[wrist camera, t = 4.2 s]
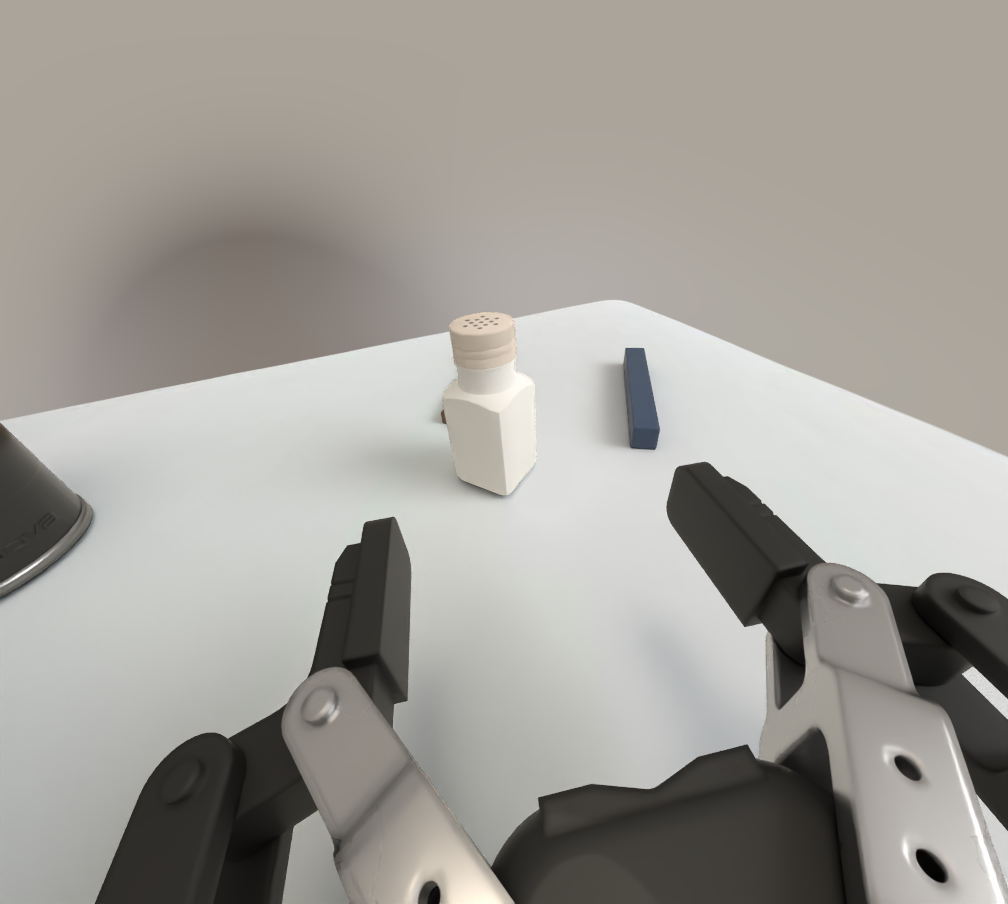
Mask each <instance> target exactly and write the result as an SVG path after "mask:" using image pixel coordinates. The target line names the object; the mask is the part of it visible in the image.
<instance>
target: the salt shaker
mask: <svg viewBox="0 0 1008 904" xmlns="http://www.w3.org/2000/svg"><path fill="white" fill-rule="evenodd" d="M449 331H450V337H451V341H452V342H451V343H452V348H453V355H454V364H455V365H456V367H457V371H458V377H459V378H458V379H456V380H455V381H454V382H453V383H452V384H451V385H450V386H449V387H448V388H447V389H446V390H445V391H444V394H443V397H442V403H443V408H444V413H445V418H446V423H447V428H448V433H449V439H450V444H451V449H452V454H453V459H454V464H455V469H456V473H457V475H458V476H459V478H460V479H462V480H463V481H465V482H468V483H470V484H473V485H476V486H478V487H481V488H484V489H486V490H489V491H491V492H494V493H497V494H499V495H508V494H510V493H511V492H512V491H513V490H514V489H515V488H516V487H517V485H518V484H519V483H520V482H521V480H522V479H523V478H524V477H525V476H526V474H527V473H528V472H529V471H530V470H531V468H532V467H533V466H534V464H535V462H536V458H537V449H536V415H535V383H534V381H533V380H532V379H531V378H530V377H528V376H527V375H524V374H522V373H520V372H517V371H516V369H515V360H516V357H517V355H516V354H517V353H516V346H515V345H516V338H515V321H514V320H513V319H512V318H511V316H509V315H505V314H501V313H488V312H486V313H484V312H483V313H476V314H470V315H466V316H463V317H460V318H458V319H455V321H453V322H452V323H451V324H450V325H449Z"/></svg>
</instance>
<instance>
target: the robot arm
mask: <svg viewBox="0 0 1008 904" xmlns="http://www.w3.org/2000/svg"><path fill="white" fill-rule="evenodd" d="M667 514H668V518H669V520H670V523H671V524H672V526H673V527H674V529H675V530H676V532H677V533H678V534H679V536H680V537H681V539H682V540H683V541H684V543H685V544H686V546H687V547H688V548H689V550H690V551H691V553H692V554H693V555H694V557H695V558H696V560H697V561H698V562H699V564H700V565H701V567H702V568H703V569H704V571H705V572H706V574H707V575H708V576H709V578H710V579H711V581H712V582H713V583H714V585H715V586H716V588H717V589H718V590H719V592H720V593H721V595H722V596H723V597H724V599H725V600H726V602H727V603H728V604H729V606H730V607H731V609H732V610H733V611H734V613H735V614H736V616H737V617H738V619H739V620H740V621H741V623H742V624H743V626H744V627H747V626H752V625H756V624H761V623H763V625H764V626H765V627H766V629H767V630H768V633H767V635H766V640H765V642H766V691H767V714H766V720H765V724H764V727H763V730H762V734H761V738H760V746H759V759H756V758H755V757H754V755H753V753H752V751H751V750H750V748H749V746H748V744H747V745H743V746H739V747H735V748H731V749H727V750H723V751H719V752H716V753H712V754H708V755H704V756H700V757H697V758H696V759H695V760H693V761H692V762H690V763H689V764H688V765H686V766H685V767H684V768H682V769H681V770H679V771H678V772H677V773H675V774H674V775H672V776H671V777H670V778H668V779H667V780H666V781H664V782H663V783H661V784H660V785H659V786H657V787H655V788H653V789H639V788H628V787H617V786H607V785H596V784H590V785H586V786H582V787H578V788H574V789H570V790H566V791H562V792H559V793H555V794H551V795H547V796H543V797H539V798H538V801H539V810H537V811H536V812H535V813H533V814H532V815H530V816H529V817H528V818H527V819H526V820H524V821H523V822H522V823H521V824H520V825H519V826H518V827H517V828H516V829H515V831H514V832H513V833H512V834H511V836H510V837H509V838H508V839H507V841H506V842H505V844H504V845H503V847H502V848H501V850H500V852H499V853H498V855H497V857H496V859H495V861H494V863H493V865H492V867H491V866H490V865H489V863H488V862H487V861H486V859H485V858H484V856H483V855H482V854H481V852H480V851H479V849H478V848H477V847H476V845H475V844H474V842H473V841H472V839H471V838H470V837H469V835H468V834H467V832H466V831H465V830H464V828H463V827H462V825H461V824H460V823H459V821H458V820H457V818H456V817H455V816H454V814H453V813H452V811H451V810H450V809H449V807H448V806H447V804H446V803H445V802H444V800H443V799H442V797H441V796H440V795H439V793H438V792H437V790H436V789H435V788H434V786H433V785H432V783H431V782H430V781H429V779H428V778H427V776H426V775H425V773H424V772H423V771H422V769H421V768H420V766H419V765H418V764H417V762H416V761H415V759H414V758H413V757H412V755H411V754H410V752H409V751H408V750H407V748H406V747H405V745H404V744H403V742H402V741H401V740H400V738H399V737H398V735H397V734H396V733H395V731H394V730H393V710H394V704H396V703H401V702H405V701H407V699H408V666H409V632H410V598H411V564H410V558H409V554H408V550H407V548H406V545H405V542H404V540H403V537H402V534H401V531H400V529H399V526H398V523H397V521H396V519H395V517H390V518H385V519H379V520H374V521H368V522H365V524H364V527H363V532H362V538H361V543H358V544H353V545H347V547H346V548H345V550H344V551H343V553H342V554H341V556H340V557H339V559H338V560H337V562H336V563H335V567H334V572H333V576H332V580H331V586H330V589H329V594H328V598H327V599H328V602H327V603H326V607H325V611H324V616H323V620H322V625H321V629H320V633H319V638H318V642H317V647H316V651H315V656H314V660H313V664H312V667H311V671H310V673H309V675H308V677H307V679H306V680H305V681H304V682H303V683H302V684H301V685H300V686H299V687H298V688H297V689H296V690H295V692H294V693H293V694H292V696H291V697H290V699H289V701H288V703H287V704H286V705H284V706H283V707H282V708H281V709H279V710H278V711H276V712H275V713H273V714H271V715H270V716H268V717H266V718H264V719H262V720H261V721H259V722H257V723H255V724H254V725H252V726H250V727H248V728H246V729H245V730H243V731H241V732H239V733H237V734H236V735H234V736H232V737H230V738H228V739H227V738H226V737H224V736H223V735H221V734H218V733H204V734H200V735H198V736H195V737H193V738H191V739H189V740H187V741H185V742H184V743H182V744H181V745H179V746H178V747H177V748H176V749H174V750H173V751H172V752H171V753H170V754H169V755H168V756H167V757H166V758H164V759H163V761H162V762H161V763H160V764H159V765H158V766H157V767H156V769H155V770H154V771H153V773H152V774H151V776H150V777H149V779H148V780H147V782H146V784H145V785H144V787H143V789H142V791H141V793H140V795H139V798H138V800H137V803H136V805H135V807H134V810H133V812H132V815H131V817H130V820H129V822H128V824H127V827H126V829H125V832H124V834H123V837H122V839H121V841H120V844H119V846H118V849H117V851H116V853H115V856H114V858H113V861H112V863H111V866H110V868H109V870H108V873H107V875H106V878H105V880H104V883H103V885H102V887H101V890H100V892H99V895H98V897H97V900H96V902H95V904H282V898H283V891H284V885H285V879H286V872H287V866H288V859H289V853H290V846H291V840H292V833H293V827H294V826H295V825H296V824H298V823H299V822H301V821H302V820H304V819H305V818H307V817H308V816H310V815H311V814H313V813H314V812H316V811H317V810H319V812H320V814H321V816H322V819H323V821H324V823H325V825H326V827H327V829H328V831H329V833H330V835H331V838H332V840H333V843H334V853H333V857H334V862H335V866H336V869H337V872H338V875H339V877H340V880H341V882H342V884H343V886H344V889H345V891H346V893H347V895H348V897H349V899H350V901H351V903H352V904H1008V887H1007V884H1006V881H1005V878H1004V875H1003V872H1002V869H1001V866H1000V863H999V860H998V858H997V855H996V852H995V849H994V846H993V843H992V840H991V837H990V834H989V831H988V828H987V825H986V822H985V819H984V816H983V813H982V810H981V807H980V804H979V801H978V798H977V795H978V796H979V798H980V799H981V800H982V801H983V802H984V803H985V805H986V806H987V807H988V808H989V809H990V811H991V812H992V813H993V814H994V815H995V817H996V818H997V819H998V820H999V821H1000V822H1001V824H1002V825H1003V826H1004V827H1005V828H1006V830H1007V831H1008V719H1007V718H1005V717H1004V716H1003V715H1002V714H1001V713H1000V712H999V711H998V710H997V709H996V708H995V707H994V706H993V705H992V704H991V703H990V702H989V701H988V700H987V699H986V698H985V697H984V696H983V695H982V694H981V693H980V692H979V691H978V690H977V689H976V688H975V687H974V686H973V685H972V684H971V683H970V682H969V681H968V680H967V679H966V678H965V677H964V676H963V675H962V673H964V672H965V671H967V670H968V669H970V668H971V667H973V666H974V667H975V668H976V669H977V670H978V671H979V672H980V673H981V674H982V675H983V676H984V677H985V678H986V679H987V680H988V681H989V682H991V683H992V684H993V685H994V686H995V687H996V688H997V689H998V690H999V691H1000V692H1001V693H1002V694H1003V695H1004V696H1005V697H1006V698H1007V699H1008V599H1007V598H1006V597H1004V596H1003V595H1001V594H1000V593H999V592H997V591H995V590H994V589H992V588H990V587H989V586H987V585H985V584H983V583H981V582H978V581H976V580H974V579H971V578H968V577H965V576H961V575H958V574H952V573H936V574H933V575H931V576H929V577H928V578H927V579H926V580H925V581H924V582H923V583H922V584H921V585H920V586H919V587H912V586H901V585H890V584H879V583H875V582H874V581H873V580H871V579H870V578H869V577H867V576H866V575H864V574H862V573H861V572H859V571H857V570H855V569H852V568H850V567H847V566H844V565H840V564H836V563H826V562H825V561H824V560H823V559H821V558H820V557H819V556H818V555H817V554H816V553H815V552H814V551H813V550H812V549H811V548H810V547H809V546H808V545H807V544H806V543H805V542H804V541H803V540H802V539H801V538H800V537H798V536H797V535H796V534H795V533H794V532H793V531H792V530H791V529H790V528H789V527H788V526H787V525H786V524H785V523H784V522H783V521H782V520H781V519H780V518H779V517H778V516H777V515H774V514H773V512H772V511H771V510H770V509H769V508H768V507H767V506H766V505H765V504H762V503H761V500H760V499H759V498H758V497H757V496H756V495H755V494H754V493H753V492H752V491H751V490H750V489H749V488H747V487H746V486H744V485H743V484H741V483H739V482H737V481H735V480H734V479H732V478H730V477H728V476H726V477H723V476H722V475H721V474H720V473H719V472H718V471H717V470H716V469H715V468H714V467H713V466H712V465H711V464H709V463H707V462H700V463H695V464H689V465H684V466H679V467H677V468H676V470H675V473H674V477H673V481H672V485H671V489H670V493H669V497H668V501H667ZM91 519H92V508H91V506H90V505H89V504H88V503H87V502H86V501H85V500H84V499H82V498H81V497H80V496H79V495H77V494H74V493H73V492H72V491H71V490H70V489H69V488H68V487H67V486H66V485H65V484H64V483H63V482H62V481H61V480H60V479H58V478H57V477H56V476H55V475H54V474H53V473H52V472H51V471H50V470H49V469H48V468H47V467H46V466H45V465H44V464H43V463H42V462H41V461H39V459H38V458H37V457H36V456H35V455H34V454H33V453H32V452H31V451H30V450H28V449H27V448H26V447H25V446H24V445H23V444H22V443H21V442H20V441H19V440H18V439H17V438H16V437H15V436H14V435H13V434H12V433H11V432H9V431H8V430H7V429H6V428H5V427H4V426H3V425H2V424H1V423H0V598H1V597H3V596H4V595H6V594H8V593H10V592H11V591H13V590H15V589H16V588H18V587H19V586H21V585H23V584H24V583H26V582H27V581H29V580H30V579H32V578H33V577H35V576H36V575H38V574H39V573H40V572H42V571H43V570H45V569H46V568H47V567H49V566H50V565H51V564H53V563H54V562H55V561H56V560H57V559H59V558H60V557H61V556H62V555H63V554H64V553H66V552H67V551H68V550H69V549H70V548H71V547H72V546H73V545H74V544H75V543H76V542H77V541H78V539H79V538H80V537H81V536H82V535H83V533H84V532H85V531H86V529H87V527H88V526H89V524H90V522H91ZM976 794H977V795H976Z"/></svg>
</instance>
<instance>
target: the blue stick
mask: <svg viewBox="0 0 1008 904" xmlns="http://www.w3.org/2000/svg"><path fill="white" fill-rule="evenodd" d="M624 374H625V386H626V398H627V410H628V422H629V434H630V446H631V447H633V448H649V449H656V446H657V441H658V436H659V432H660V428H659V422H658V417H657V412H656V407H655V402H654V397H653V392H652V387H651V382H650V376H649V371H648V366H647V361H646V356H645V351H644V348H626V349H625V356H624Z"/></svg>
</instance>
